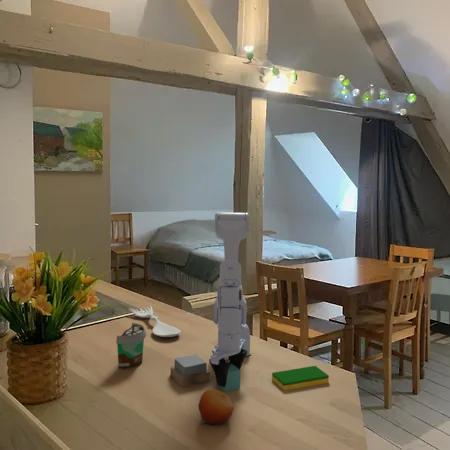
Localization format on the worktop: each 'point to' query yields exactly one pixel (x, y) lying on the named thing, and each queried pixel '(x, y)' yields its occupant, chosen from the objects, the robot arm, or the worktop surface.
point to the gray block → (190, 365)
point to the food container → (131, 347)
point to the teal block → (232, 379)
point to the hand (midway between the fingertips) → (228, 381)
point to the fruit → (215, 407)
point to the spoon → (157, 323)
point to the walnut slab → (189, 377)
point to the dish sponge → (300, 378)
